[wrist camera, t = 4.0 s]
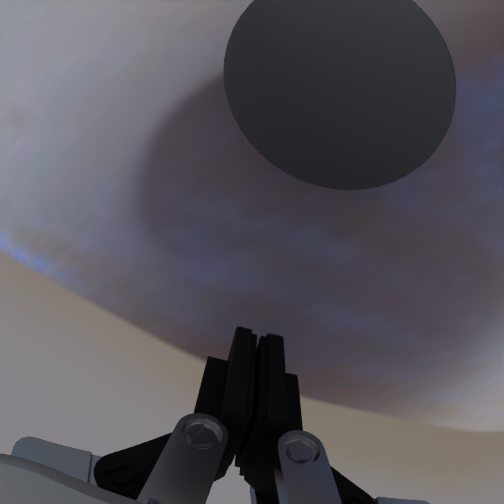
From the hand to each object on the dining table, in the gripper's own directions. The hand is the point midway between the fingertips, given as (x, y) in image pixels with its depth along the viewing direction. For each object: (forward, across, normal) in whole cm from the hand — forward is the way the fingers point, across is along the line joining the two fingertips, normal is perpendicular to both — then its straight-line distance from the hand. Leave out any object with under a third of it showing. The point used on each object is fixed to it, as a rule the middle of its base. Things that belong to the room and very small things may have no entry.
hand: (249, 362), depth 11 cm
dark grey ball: (-1, 0, -10) cm, 10 cm away
